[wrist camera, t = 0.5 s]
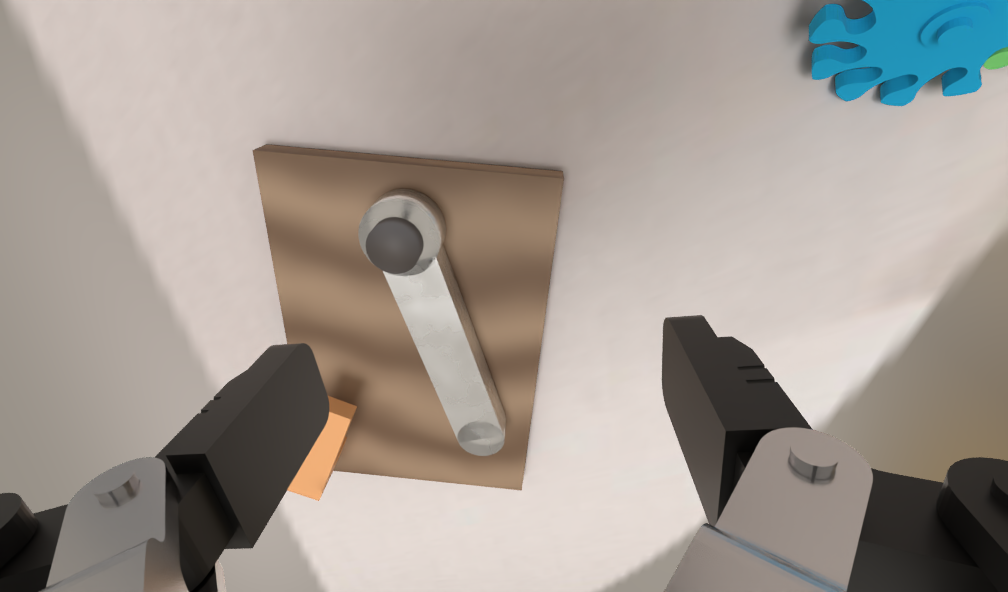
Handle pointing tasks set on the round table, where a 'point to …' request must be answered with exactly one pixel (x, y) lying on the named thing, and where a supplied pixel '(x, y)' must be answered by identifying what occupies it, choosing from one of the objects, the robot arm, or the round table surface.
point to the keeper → (324, 451)
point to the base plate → (375, 313)
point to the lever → (442, 325)
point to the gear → (910, 46)
